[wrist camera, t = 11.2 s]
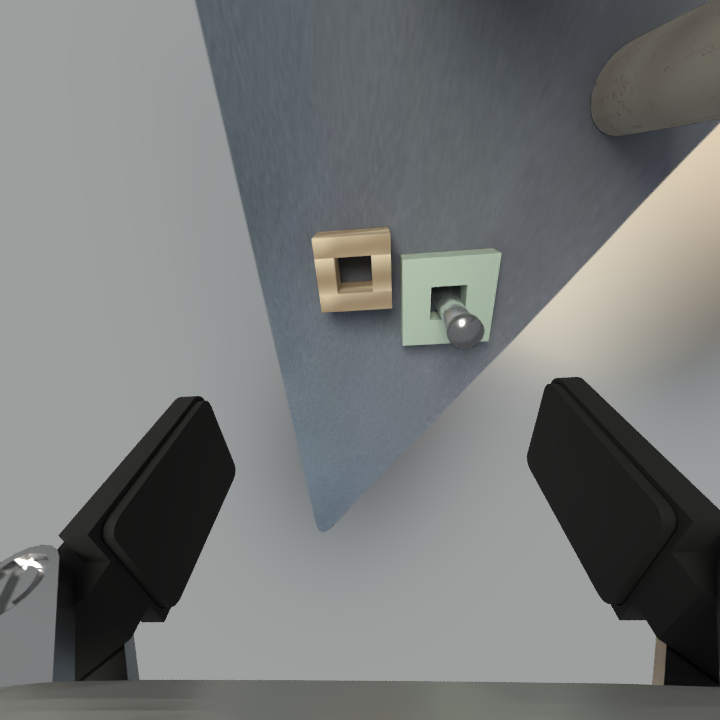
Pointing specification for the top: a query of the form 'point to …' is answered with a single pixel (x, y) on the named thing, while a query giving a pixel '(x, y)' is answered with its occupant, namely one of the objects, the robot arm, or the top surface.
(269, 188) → the top surface
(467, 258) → the dock
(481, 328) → the pin
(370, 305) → the frame
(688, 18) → the thermos bottle
